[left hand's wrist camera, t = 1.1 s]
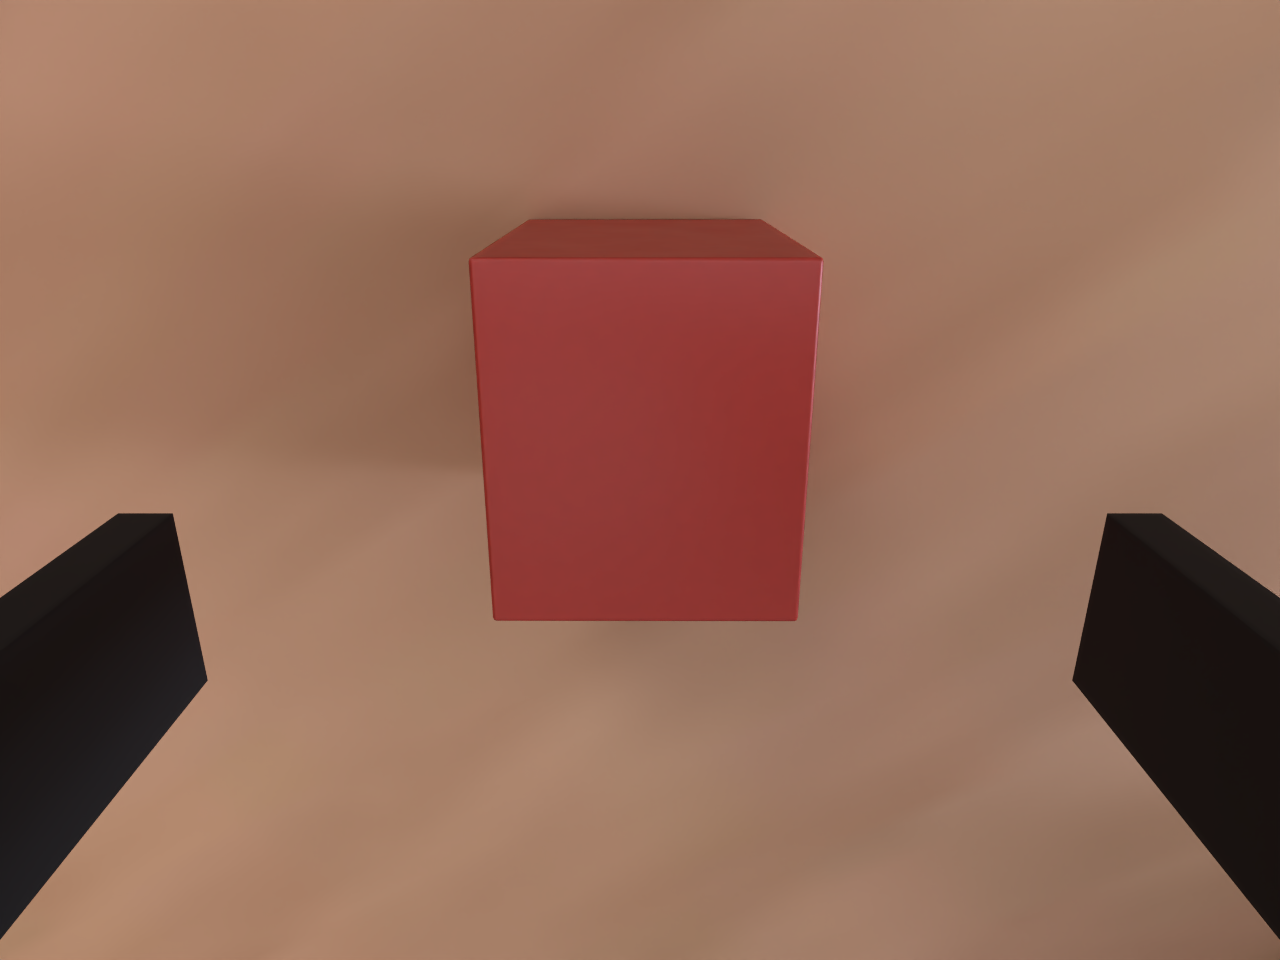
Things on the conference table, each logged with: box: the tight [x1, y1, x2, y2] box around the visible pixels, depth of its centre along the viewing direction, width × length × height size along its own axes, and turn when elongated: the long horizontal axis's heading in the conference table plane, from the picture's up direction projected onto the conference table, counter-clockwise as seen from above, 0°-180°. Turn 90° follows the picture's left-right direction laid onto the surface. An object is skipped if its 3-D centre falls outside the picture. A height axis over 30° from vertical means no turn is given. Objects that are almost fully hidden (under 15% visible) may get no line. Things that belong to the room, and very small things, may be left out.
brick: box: [469, 219, 823, 621], centre depth 24 cm, size 7×8×10 cm
